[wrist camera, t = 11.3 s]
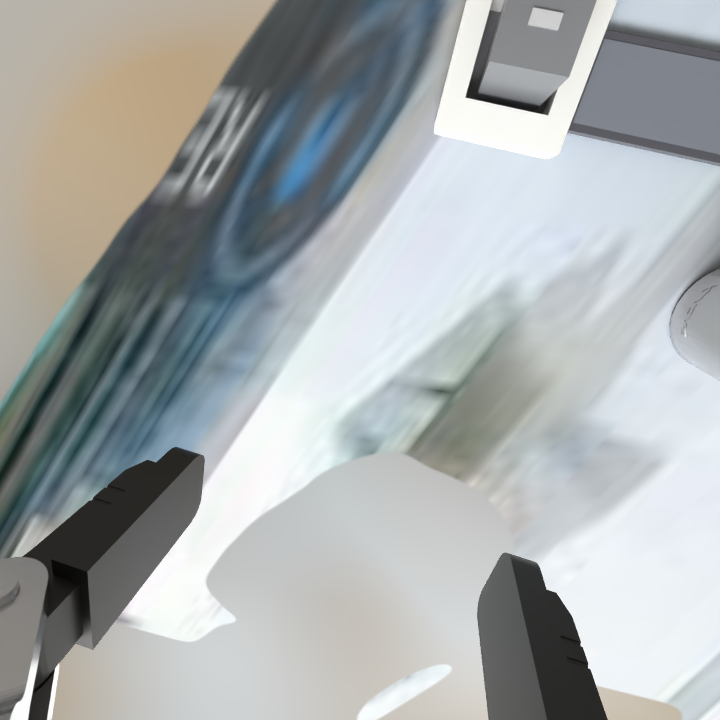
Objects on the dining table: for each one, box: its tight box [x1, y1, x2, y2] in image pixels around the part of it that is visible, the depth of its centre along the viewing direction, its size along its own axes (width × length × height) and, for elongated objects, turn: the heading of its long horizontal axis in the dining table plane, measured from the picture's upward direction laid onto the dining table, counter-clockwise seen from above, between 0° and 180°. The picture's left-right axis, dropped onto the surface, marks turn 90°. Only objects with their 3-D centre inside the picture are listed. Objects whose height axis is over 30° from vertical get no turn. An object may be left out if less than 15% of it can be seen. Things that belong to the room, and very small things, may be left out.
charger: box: [475, 0, 597, 111], centre depth 24 cm, size 4×4×8 cm
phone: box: [567, 30, 720, 166], centre depth 27 cm, size 12×6×1 cm, turn 77°
